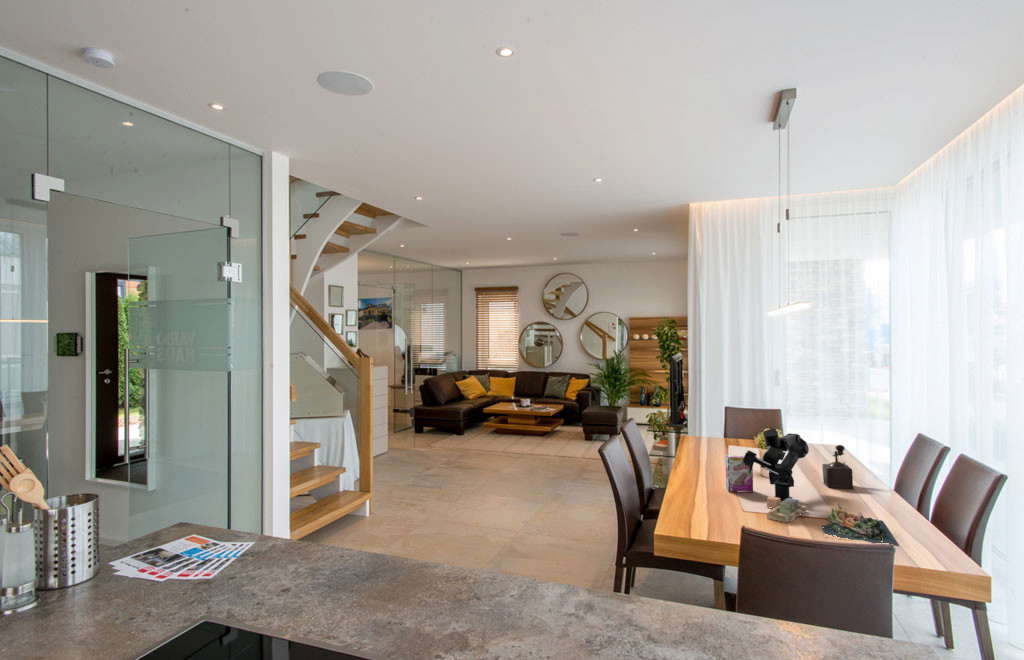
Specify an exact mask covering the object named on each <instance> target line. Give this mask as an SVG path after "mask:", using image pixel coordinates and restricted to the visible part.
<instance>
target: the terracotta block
mask: <svg viewBox="0 0 1024 660" xmlns="http://www.w3.org/2000/svg"><path fill="white" fill-rule="evenodd" d="M780 502H781V500H780V498H777V497H774V496H768V497H767V498H766V508H767V507H772V508H776V507H778V506H779V503H780Z"/></svg>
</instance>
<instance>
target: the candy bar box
mask: <svg viewBox="0 0 1024 660" xmlns="http://www.w3.org/2000/svg"><path fill="white" fill-rule="evenodd" d="M744 456H745V454H740V455H739V454H725V457H724V459H725V489H727V490H728V491H729V492H728V491H727V490H726V491H727V492H728V493H738V492H737V491H753V492H754V474H753V473H754V470H753V469H754V468H753V467H754V466H753V467H752V470H751V473H750V474H749V470H748V467H747V465H745V463H743V459H744Z"/></svg>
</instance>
